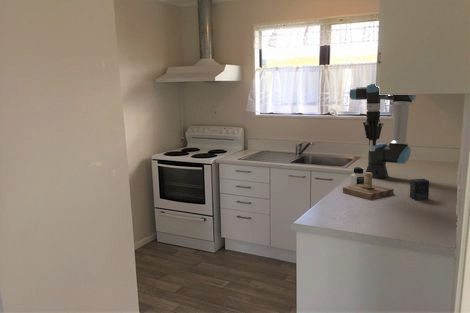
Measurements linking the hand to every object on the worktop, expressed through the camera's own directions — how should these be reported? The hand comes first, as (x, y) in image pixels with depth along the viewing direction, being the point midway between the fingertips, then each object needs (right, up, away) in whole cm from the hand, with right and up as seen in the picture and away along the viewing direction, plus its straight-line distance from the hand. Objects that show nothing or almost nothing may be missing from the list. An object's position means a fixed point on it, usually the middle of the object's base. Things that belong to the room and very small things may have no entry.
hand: (372, 150), depth 229 cm
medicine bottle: (-3, -22, +16) cm, 28 cm away
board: (-3, -25, -1) cm, 25 cm away
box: (+20, -27, -15) cm, 37 cm away
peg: (-3, -25, -1) cm, 25 cm away
